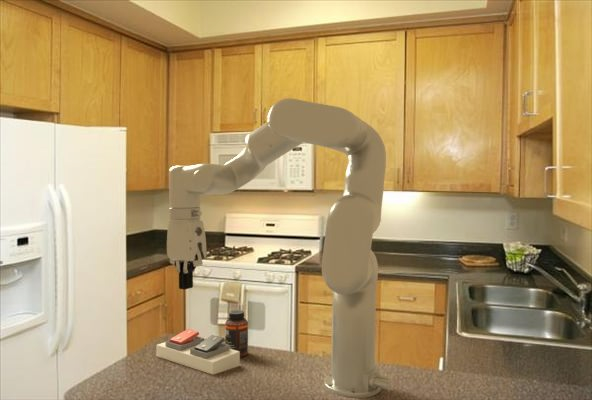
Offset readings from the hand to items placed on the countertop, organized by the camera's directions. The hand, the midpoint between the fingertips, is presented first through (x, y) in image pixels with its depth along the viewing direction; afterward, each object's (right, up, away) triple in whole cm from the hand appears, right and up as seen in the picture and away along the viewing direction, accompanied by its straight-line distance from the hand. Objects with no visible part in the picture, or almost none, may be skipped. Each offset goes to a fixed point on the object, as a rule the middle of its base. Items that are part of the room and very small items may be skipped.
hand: (186, 288), depth 115 cm
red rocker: (-1, -13, +1) cm, 13 cm away
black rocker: (+7, -13, -4) cm, 16 cm away
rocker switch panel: (+3, -19, -1) cm, 19 cm away
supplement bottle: (+12, -19, +6) cm, 23 cm away
